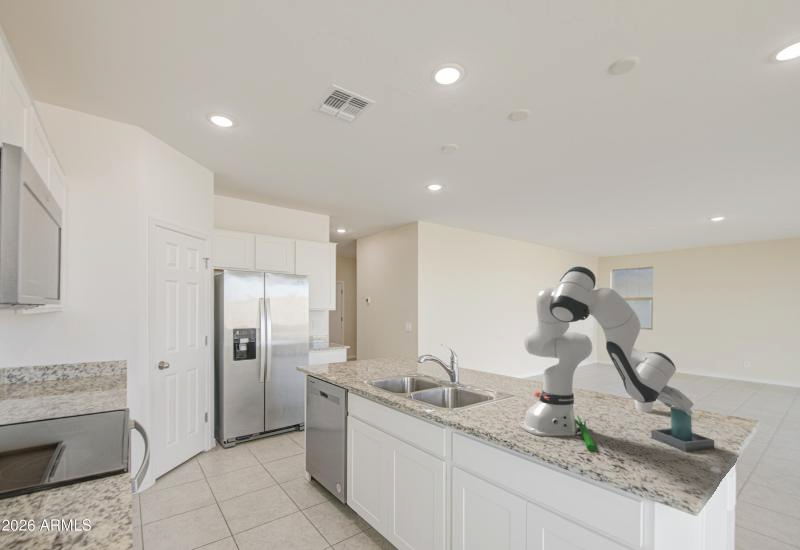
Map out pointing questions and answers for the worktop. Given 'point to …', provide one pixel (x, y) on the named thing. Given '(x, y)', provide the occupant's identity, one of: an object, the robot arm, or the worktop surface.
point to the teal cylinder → (681, 425)
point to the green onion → (585, 435)
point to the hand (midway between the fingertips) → (679, 409)
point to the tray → (694, 445)
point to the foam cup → (643, 406)
